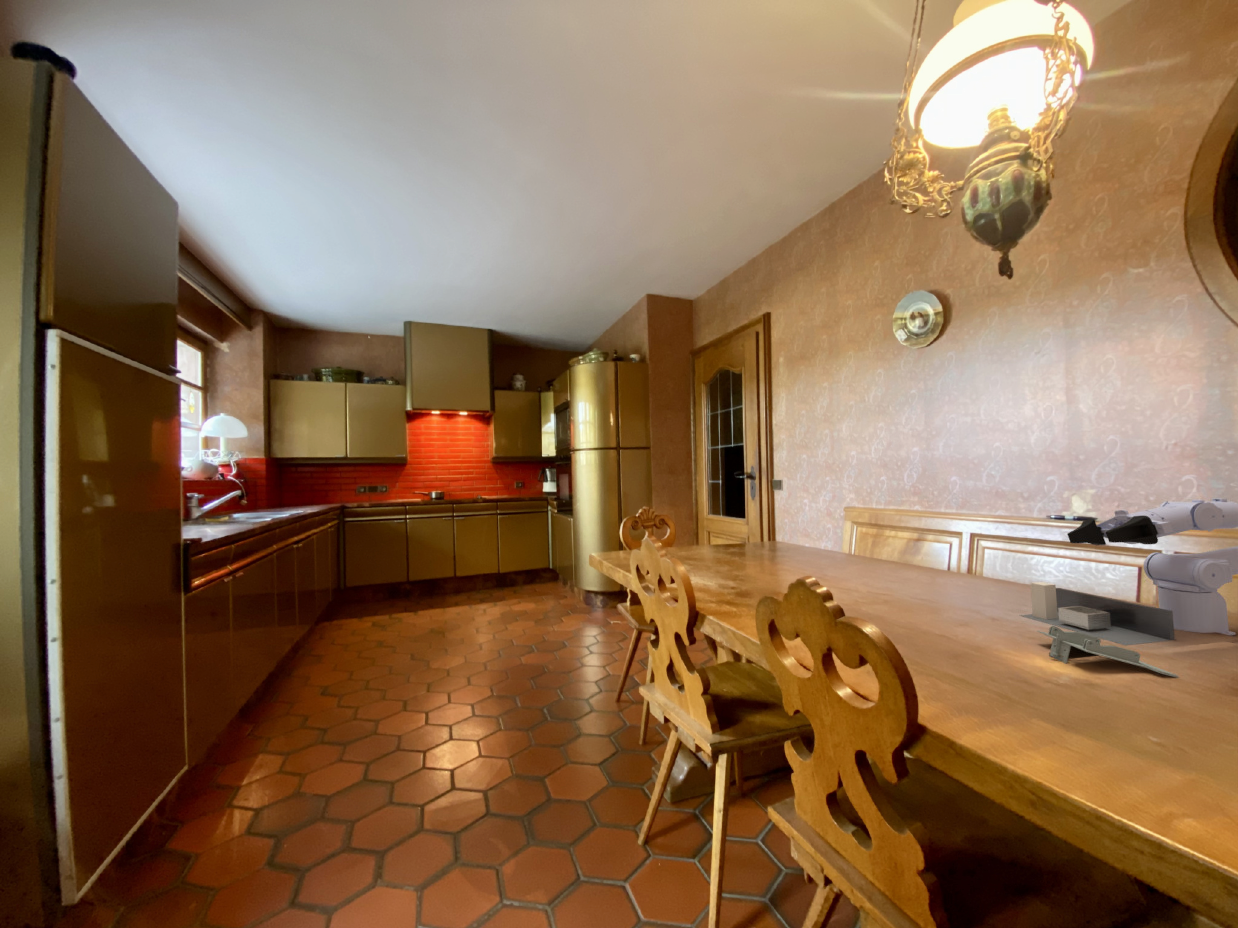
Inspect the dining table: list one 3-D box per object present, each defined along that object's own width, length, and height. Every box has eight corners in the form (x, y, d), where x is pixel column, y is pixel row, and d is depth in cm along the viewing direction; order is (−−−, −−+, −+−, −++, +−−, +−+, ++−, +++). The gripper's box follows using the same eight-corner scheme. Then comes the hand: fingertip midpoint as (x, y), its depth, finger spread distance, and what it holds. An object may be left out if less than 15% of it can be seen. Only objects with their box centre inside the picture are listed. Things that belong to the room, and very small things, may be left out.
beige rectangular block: (1043, 614, 107) (1041, 581, 107) (1057, 618, 104) (1055, 584, 104) (1032, 615, 106) (1030, 582, 107) (1046, 619, 103) (1044, 585, 104)
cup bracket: (1060, 611, 109) (1059, 587, 109) (1174, 639, 89) (1172, 610, 89) (1025, 614, 107) (1023, 590, 107) (1133, 644, 87) (1130, 614, 88)
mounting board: (1063, 615, 109) (1062, 611, 109) (1177, 644, 89) (1176, 639, 89) (1019, 619, 107) (1018, 615, 107) (1125, 650, 87) (1125, 645, 87)
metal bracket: (1095, 643, 77) (1026, 616, 92) (1087, 677, 77) (1018, 645, 92) (1190, 668, 76) (1103, 637, 90) (1181, 703, 75) (1096, 666, 90)
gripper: (1103, 508, 104) (1048, 520, 103) (1183, 501, 90) (1120, 515, 89) (1116, 540, 103) (1060, 552, 102) (1199, 537, 88) (1134, 552, 87)
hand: (1089, 537), depth 95 cm, fingers open, 7 cm apart
